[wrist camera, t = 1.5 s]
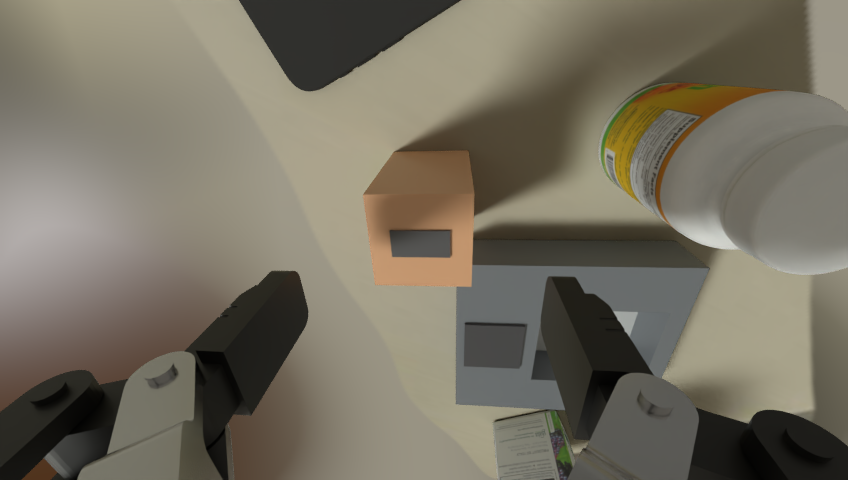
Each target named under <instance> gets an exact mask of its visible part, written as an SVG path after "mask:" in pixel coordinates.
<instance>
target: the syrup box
mask: <svg viewBox="0 0 848 480" xmlns="http://www.w3.org/2000/svg"><path fill="white" fill-rule="evenodd" d="M493 434H494V445H495V458H496V469H497V480H567V479H568V477H569V475H570V473H571V471H572V469H573V466H574V464H575V462H576V461H575V458H574V455H573V451H572V448H571V445H570V442H569V440H568V437H567V434H566V432H565V430H564V427H563V425H562V423H561V421H560V418H559V416H558V414H557V412H556V411H555V410H549V411H544V412H539V413H534V414H529V415H524V416H520V417H515V418H510V419H506V420H502V421H497V422H493Z"/></svg>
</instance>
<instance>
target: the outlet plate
mask: <svg viewBox="0 0 848 480" xmlns="http://www.w3.org/2000/svg"><path fill="white" fill-rule="evenodd" d="M708 271H709V267H707V266H706V265H705V264H704V263H702V262H701V261H700V260H699V259H697V258H696V257H695V256H694V255H692V254H691V253H690V252H689V251H687V250H686V249H685V248H684V247H683V246H681V245H680V244H679V243H678V242H676V241H613V240H473V255H472V285H471V287H458V286H457V309H456V404H460V405H478V406H496V407H514V408H532V409H550V410H565V408H564V404H563V401H562V398H561V395H560V392H559V388H558V385H557V382H556V379H555V376H554V372H553V369H552V366H551V363H550V360H549V356H548V353H547V350H546V347H545V343H544V340H543V337H542V332H541V312H542V306H543V299H544V292H545V286H546V280H547V278H548V277H549V276H568V277H576V279H577V280H578V282H579V284H580V285H581V287H582V289H583V291H584V292H585V293H586V294H595V295H597V296H598V297H599V298H601V299H602V300H603V301H604V302H606V303H607V304H608V305H609V306H610V307H611V309H612V311H613V312H614V314H615V315H616V317H617V320H618V321H620V323H621V325H622V326H623V328H624V329H625V332H627V334H628V336H629V337H630V339H631V340H632V342H633V343H634V345H635V346H636V348H637V350H638V351H639V353H640V354H641V356H642V357H643V359H644V360H645V362H646V364H647V365H648V367H649V368H650V370H651V371H652V373H653V375H654V376H656V377H659V378H662V376H663V373H664V371H665V369H666V366H667V364H668V362H669V360H670V357H671V355H672V353H673V350H674V348H675V346H676V344H677V341H678V339H679V337H680V335H681V332H682V330H683V328H684V325H685V323H686V321H687V319H688V316H689V314H690V312H691V309H692V307H693V305H694V303H695V300H696V298H697V296H698V294H699V291H700V289H701V287H702V284H703V282H704V280H705V278H706V275H707V273H708Z"/></svg>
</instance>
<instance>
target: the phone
mask: <svg viewBox="0 0 848 480" xmlns="http://www.w3.org/2000/svg"><path fill="white" fill-rule="evenodd" d="M239 1H240V3H241V4H242V6H243V7H244V9H245V11H246V12H247V14H248V15H249V17H250V19H251V20H252V22H253V23H254V25H255V27H256V28H257V30H258V31H259V33H260V35H261V36H262V38H263V39H264V41H265V43H266V44H267V46H268V47H269V49H270V50H271V52H272V54H273V55H274V57H275V58H276V60H277V62H278V63H279V65H280V66H281V68H282V69H283V71H284V73H285V74H286V76H287V77H288V79H289V80H290V81H291V82H292V83H293V84H294V85H295V86H296V87H298V88H299V89H301V90H304V91H315V90H319V89H322V88H324V87H325V86H327V85H329V84H330V83H332V82H334V81H335V80H337V79H338V78H342V77H343V76H345V75H346V74H348V73H349V71H351V70H352V69H354V68H355V67H357V66H358V67H359V66H361V65H363V64H364V63H366V62H367V61H369V60H370V59H372V58H374V57H375V56H376V54H377V53H379V52H381V51H382V52H383V51H385V50H386V49H388V48H389V47H391V46H392V45H394V44H396V43H397V42H399V41H400V40H401V38H402V37H404V36H406V35H407V34H409V33H410V32H412V31H413V30H415V29H417V28H418V27H420V26H421V25H423V24H424V23H426V22H428V21H429V20H431V19H432V18H434V17H435V16H437V15H439V14H440V13H442V12H443V11H445V10H446V9H448V8H450V7H451V6H453V5H454V4H456V3H457V2H459V1H460V0H239Z"/></svg>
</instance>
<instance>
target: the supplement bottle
mask: <svg viewBox="0 0 848 480" xmlns="http://www.w3.org/2000/svg"><path fill="white" fill-rule="evenodd" d="M598 153H599V161H600V164H601V167H602V169H603V171H604V173H605V174H606V176H607V177H608V178H609V179H610V180H611V181H612V182H613V183H614V184H615V185H617V186H618V187H619V188H621V189H622V190H623V191H625V192H626V193H627V194H629V195H630V196H631V197H633V198H634V199H635V200H637V201H638V202H639V203H641V204H642V205H643V206H645V207H646V208H647V209H649V210H650V211H651V212H653V213H654V214H655V215H657V216H658V217H659V218H661V219H662V220H663V221H665V222H666V223H667V224H668V225H670V226H671V227H672V228H674V229H675V230H676V231H678V232H679V233H681V234H683V235H684V236H686V237H687V238H689V239H691V240H693V241H695V242H697V243H699V244H702V245H705V246H709V247H713V248H720V249H740V250H742V251H744V252H745V253H747V254H749V255H751V256H753V257H754V258H756V259H758V260H759V261H761V262H763V263H764V264H766V265H767V266H769V267H771V268H774V269H776V270H779V271H782V272H786V273H791V274H798V275H813V274H822V273H829V272H833V271H837V270H841V269H844V268H848V112H847V111H846V110H845V109H844V108H843V107H842V106H841V105H839V104H837V103H836V102H834V101H832V100H830V99H827V98H825V97H822V96H819V95H815V94H809V93H803V92H796V91H785V90H773V89H760V88H748V87H735V86H722V85H708V84H695V83H682V82H672V83H662V84H658V85H654V86H651V87H648V88H645V89H643V90H641V91H639V92H637V93H636V94H634V95H632V96H631V97H630V98H628V99H627V100H626V101H624V102H623V103H622V104H621V105H620V106H619V107H618V108H617V109H616V110H615V112H614V113H613V114H612V115H611V117H610V118H609V120H608V121H607V123H606V125H605V127H604V129H603V131H602V134H601V137H600V141H599V151H598Z"/></svg>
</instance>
